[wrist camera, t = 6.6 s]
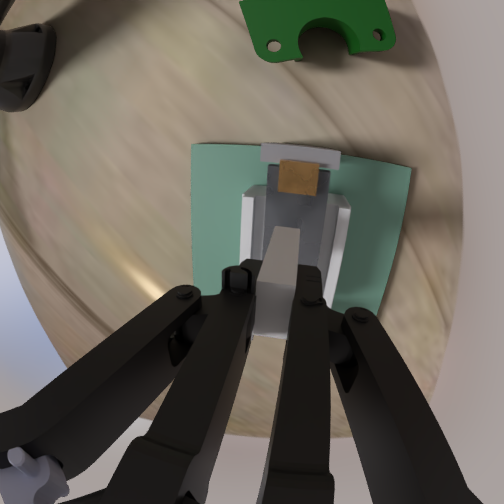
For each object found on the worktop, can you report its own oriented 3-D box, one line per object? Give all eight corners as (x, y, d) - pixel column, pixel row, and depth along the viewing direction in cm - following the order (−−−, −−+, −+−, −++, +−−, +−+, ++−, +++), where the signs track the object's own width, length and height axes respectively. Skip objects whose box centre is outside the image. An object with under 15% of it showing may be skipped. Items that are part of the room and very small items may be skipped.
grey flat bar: (270, 156, 17) (266, 159, 16) (330, 162, 17) (332, 166, 15) (259, 317, 24) (255, 329, 22) (304, 323, 23) (303, 336, 22)
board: (196, 139, 24) (156, 142, 17) (407, 162, 21) (443, 173, 14) (198, 303, 32) (172, 344, 25) (368, 327, 29) (378, 375, 22)
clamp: (286, 65, 23) (240, 70, 18) (272, 17, 20) (220, 9, 14) (400, 53, 17) (397, 46, 11) (384, -2, 14) (372, -30, 8)
